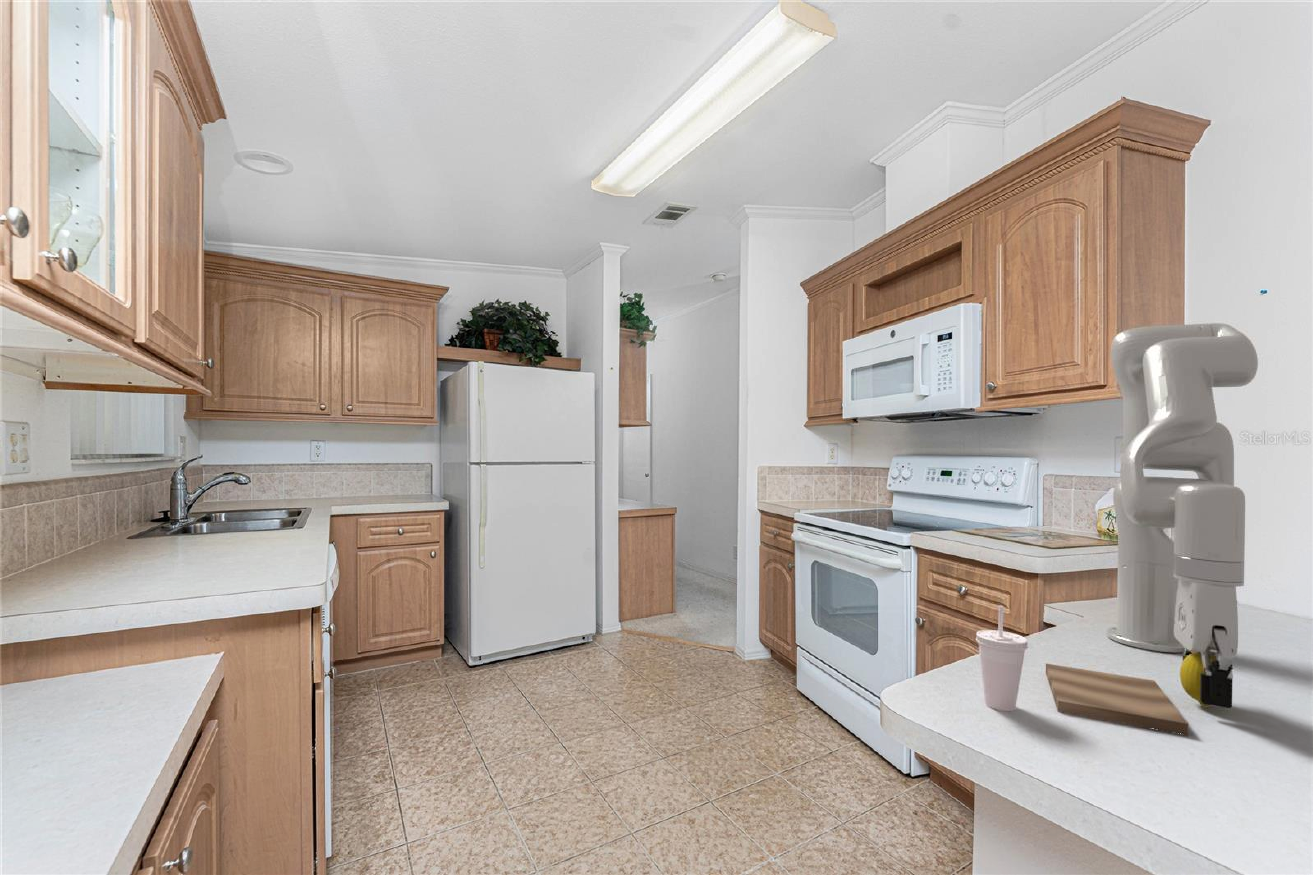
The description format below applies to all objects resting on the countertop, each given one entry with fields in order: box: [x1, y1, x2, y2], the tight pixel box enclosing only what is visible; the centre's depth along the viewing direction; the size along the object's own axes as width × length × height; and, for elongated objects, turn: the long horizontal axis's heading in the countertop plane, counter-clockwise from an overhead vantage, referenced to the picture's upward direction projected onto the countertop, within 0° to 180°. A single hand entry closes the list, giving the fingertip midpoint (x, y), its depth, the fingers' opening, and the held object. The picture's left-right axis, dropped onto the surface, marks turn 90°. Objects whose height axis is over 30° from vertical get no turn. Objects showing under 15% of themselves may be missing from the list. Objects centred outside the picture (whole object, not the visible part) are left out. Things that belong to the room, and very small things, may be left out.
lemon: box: [1179, 651, 1217, 708], centre depth 88 cm, size 6×6×8 cm
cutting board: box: [1045, 663, 1189, 736], centre depth 90 cm, size 17×14×2 cm
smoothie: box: [975, 605, 1029, 712], centre depth 87 cm, size 6×6×14 cm
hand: (1205, 694), depth 88 cm, fingers open, 7 cm apart
